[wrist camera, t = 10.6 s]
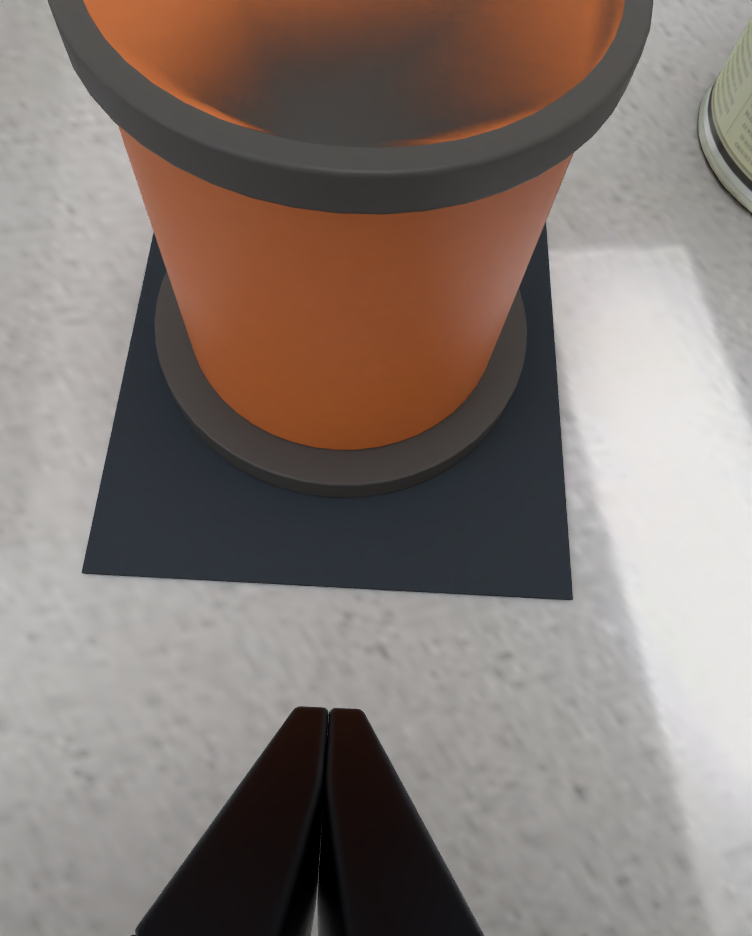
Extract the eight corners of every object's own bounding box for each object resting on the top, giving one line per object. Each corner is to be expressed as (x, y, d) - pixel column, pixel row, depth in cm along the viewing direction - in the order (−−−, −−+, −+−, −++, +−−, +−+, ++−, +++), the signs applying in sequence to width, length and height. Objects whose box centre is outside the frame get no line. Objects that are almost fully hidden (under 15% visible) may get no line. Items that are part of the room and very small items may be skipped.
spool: (438, 562, 19) (570, 332, 8) (88, 401, 20) (-166, 29, 10) (564, 270, 23) (756, -120, 13) (269, 151, 24) (226, -293, 14)
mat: (571, 600, 18) (572, 599, 18) (82, 573, 18) (81, 572, 18) (545, 223, 24) (545, 221, 23) (162, 193, 23) (162, 191, 23)
